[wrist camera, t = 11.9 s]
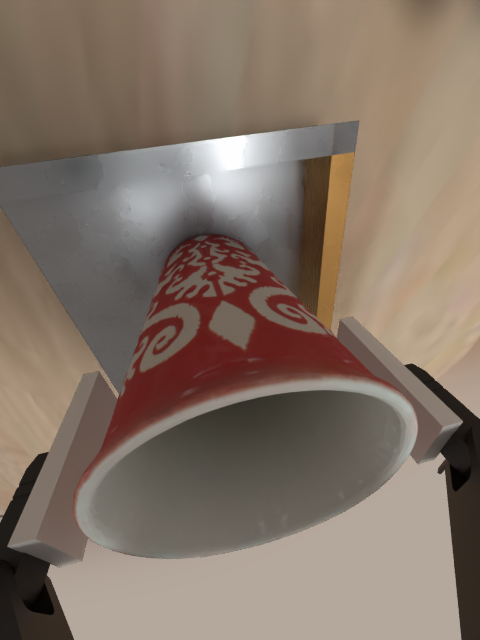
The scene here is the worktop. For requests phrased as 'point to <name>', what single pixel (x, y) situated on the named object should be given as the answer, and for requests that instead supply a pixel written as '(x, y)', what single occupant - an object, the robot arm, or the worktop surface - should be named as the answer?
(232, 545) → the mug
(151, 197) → the tray
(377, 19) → the worktop surface
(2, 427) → the worktop surface
